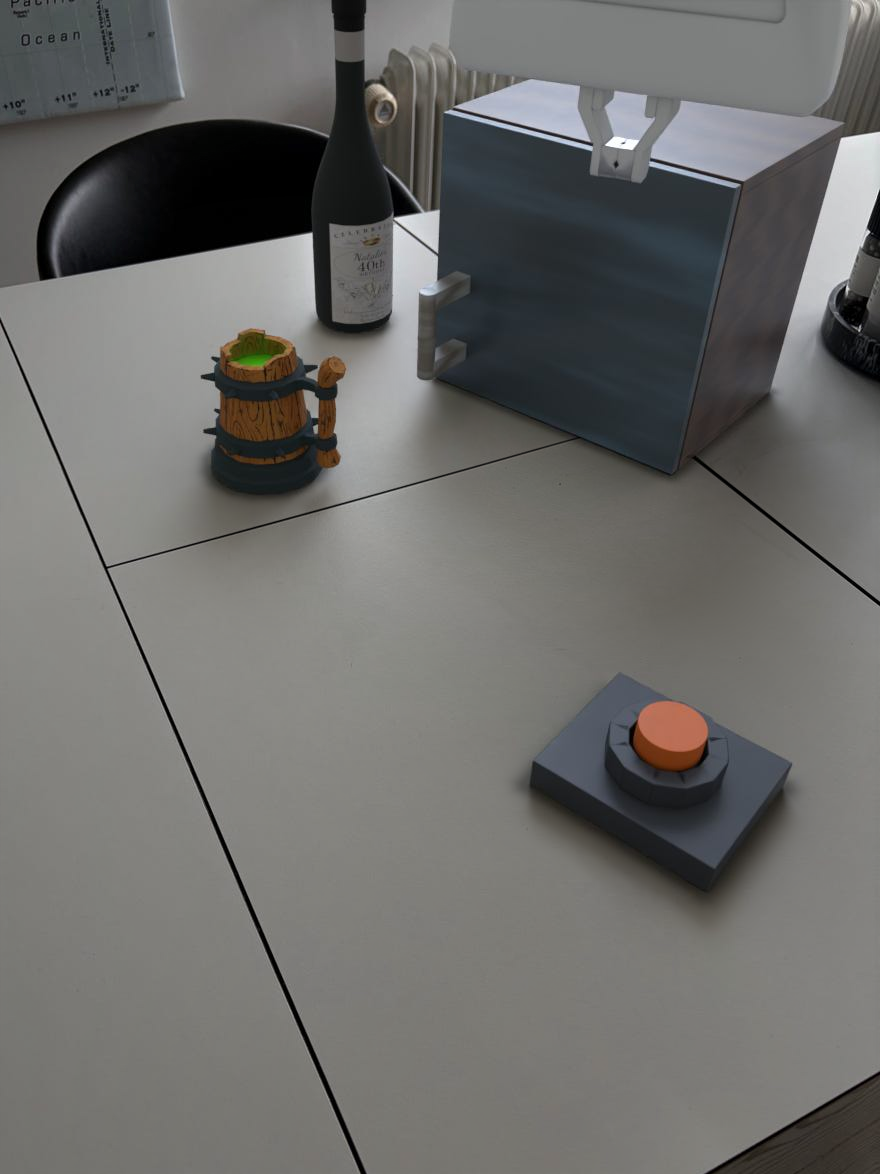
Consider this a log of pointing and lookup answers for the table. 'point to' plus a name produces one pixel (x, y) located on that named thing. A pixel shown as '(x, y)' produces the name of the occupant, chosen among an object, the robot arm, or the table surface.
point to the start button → (670, 736)
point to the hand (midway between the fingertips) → (618, 176)
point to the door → (573, 286)
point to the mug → (271, 415)
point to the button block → (660, 784)
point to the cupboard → (759, 233)
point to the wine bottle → (352, 197)
